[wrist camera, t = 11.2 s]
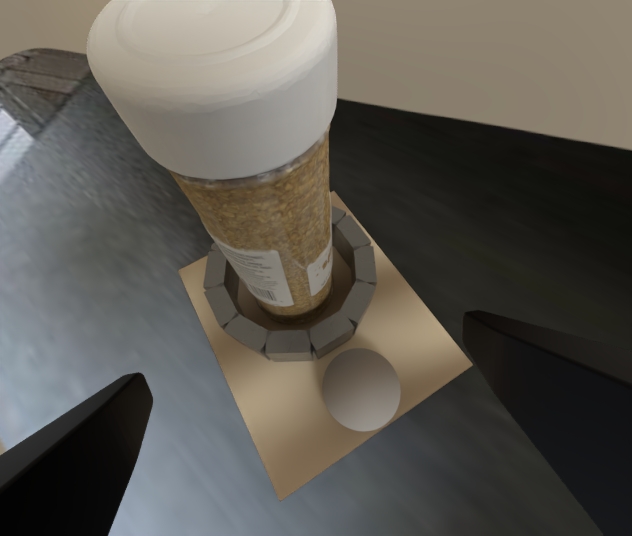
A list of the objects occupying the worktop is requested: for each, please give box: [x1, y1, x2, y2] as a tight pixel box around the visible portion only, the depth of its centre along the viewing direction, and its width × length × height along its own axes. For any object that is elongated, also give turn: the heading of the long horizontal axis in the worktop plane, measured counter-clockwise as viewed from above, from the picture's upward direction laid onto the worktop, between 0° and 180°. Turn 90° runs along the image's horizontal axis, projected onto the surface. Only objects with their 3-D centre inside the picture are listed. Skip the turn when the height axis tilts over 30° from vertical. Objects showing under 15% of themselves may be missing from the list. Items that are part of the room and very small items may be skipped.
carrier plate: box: [178, 191, 473, 501], centre depth 17 cm, size 13×11×2 cm
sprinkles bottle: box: [87, 0, 338, 325], centre depth 11 cm, size 5×5×13 cm
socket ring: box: [203, 205, 377, 362], centre depth 16 cm, size 8×8×2 cm
